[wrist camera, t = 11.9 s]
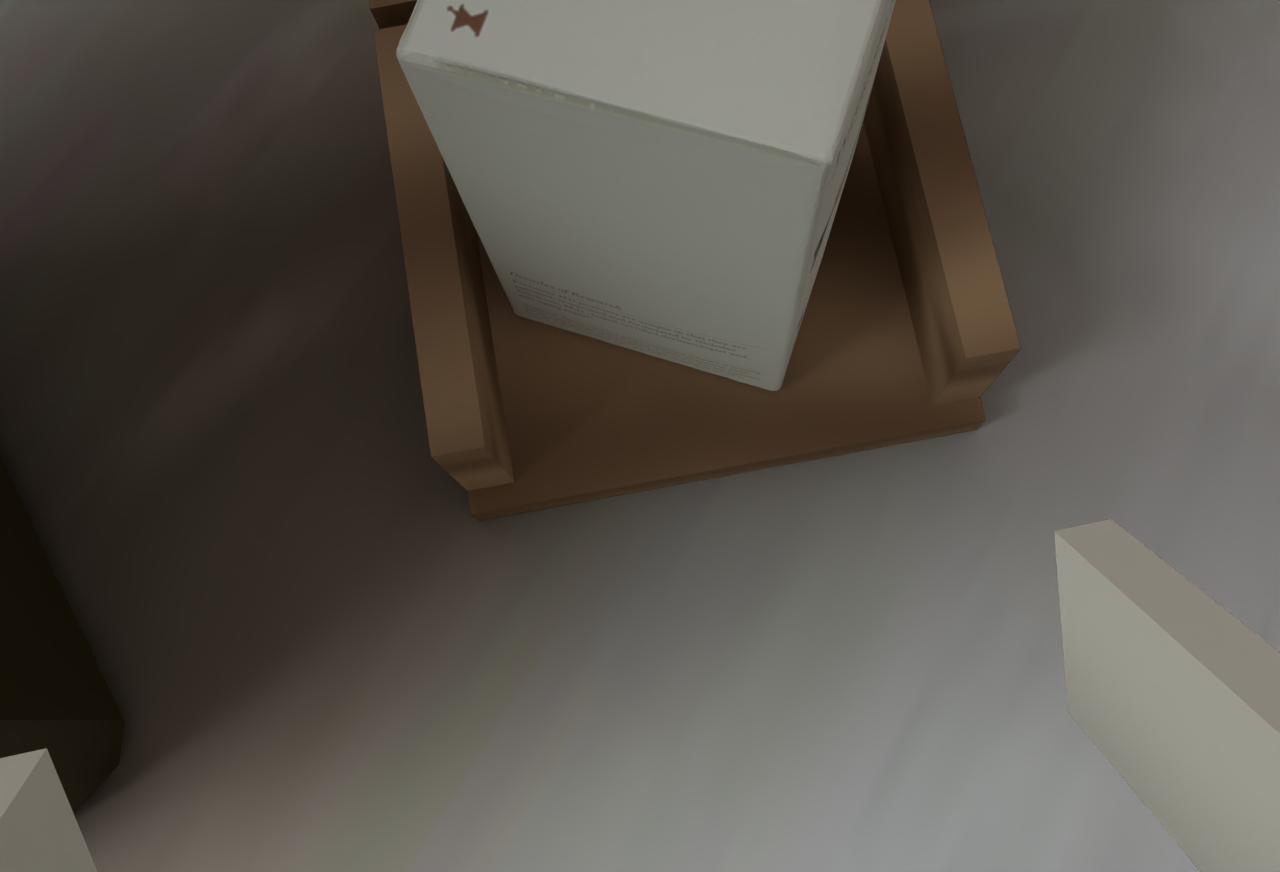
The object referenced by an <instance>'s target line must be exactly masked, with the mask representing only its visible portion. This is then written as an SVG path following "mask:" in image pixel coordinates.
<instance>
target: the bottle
mask: <svg viewBox="0 0 1280 872" xmlns="http://www.w3.org/2000/svg"><path fill="white" fill-rule="evenodd" d="M123 721H124V720H123V717H122V715H121V713H120V711H119V709H118V707H117V705H116V703H115V701H114V699H113V696H112V694H111V692H110V690H109V688H108V686H107V684H106V682H105V680H104V677H103V675H102V673H101V671H100V669H99V667H98V665H97V663H96V661H95V658H94V656H93V654H92V652H91V650H90V648H89V646H88V644H87V642H86V639H85V637H84V635H83V633H82V631H81V629H80V627H79V625H78V623H77V620H76V618H75V616H74V614H73V612H72V610H71V608H70V606H69V604H68V602H67V599H66V597H65V595H64V593H63V591H62V589H61V587H60V585H59V583H58V580H57V578H56V576H55V574H54V572H53V570H52V568H51V566H50V564H49V561H48V559H47V557H46V555H45V553H44V551H43V549H42V547H41V545H40V542H39V540H38V538H37V536H36V534H35V532H34V530H33V528H32V526H31V523H30V521H29V519H28V517H27V515H26V513H25V511H24V509H23V507H22V504H21V502H20V500H19V498H18V496H17V494H16V492H15V490H14V488H13V486H12V483H11V481H10V479H9V477H8V475H7V473H6V471H5V469H4V467H3V464H2V462H1V460H0V758H4V757H8V756H13V755H18V754H22V753H27V752H32V751H36V750H41V749H46V748H47V750H48V752H49V755H50V757H51V760H52V762H53V765H54V767H55V769H56V772H57V774H58V777H59V779H60V782H61V784H62V787H63V789H64V791H65V794H66V796H67V799H68V801H69V804H70V806H71V809H72V811H73V812H74V811H75V810H76V809H77V808H78V807H79V806H80V805H81V804H82V803H83V802H84V801H85V800H86V799H87V798H88V797H89V795H90V794H91V793H92V792H93V791H94V790H95V789H96V788H97V787H98V786H99V785H100V784H101V783H102V782H103V781H104V780H105V778H106V777H107V776H108V775H109V774H110V773H111V772H112V771H113V770H114V769H115V768H116V767H117V766H118V765H119V756H120V748H121V739H122V730H123Z"/></svg>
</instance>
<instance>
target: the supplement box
mask: <svg viewBox="0 0 1280 872" xmlns="http://www.w3.org/2000/svg"><path fill="white" fill-rule="evenodd" d="M895 1H896V0H417V3H416V5H415V8H414V10H413V13H412V15H411V17H410V20H409V22H408V25H407V27H406V29H405V31H404V33H403V35H402V37H401V39H400V41H399V44H398V47H397V50H396V55H397V59H398V61H399V63H400V65H401V68H402V70H403V72H404V74H405V76H406V79H407V81H408V83H409V85H410V87H411V90H412V92H413V94H414V96H415V98H416V100H417V103H418V105H419V107H420V109H421V111H422V113H423V116H424V118H425V120H426V122H427V124H428V127H429V129H430V131H431V133H432V135H433V137H434V139H435V141H436V144H437V146H438V148H439V151H440V153H441V155H442V157H443V159H444V161H445V163H446V166H447V168H448V170H449V172H450V174H451V176H452V178H453V181H454V183H455V185H456V187H457V190H458V192H459V194H460V196H461V198H462V201H463V203H464V205H465V207H466V209H467V211H468V214H469V216H470V218H471V220H472V223H473V225H474V227H475V229H476V231H477V233H478V235H479V237H480V239H481V241H482V244H483V246H484V248H485V250H486V252H487V255H488V257H489V259H490V261H491V263H492V266H493V268H494V270H495V272H496V274H497V276H498V279H499V281H500V283H501V285H502V287H503V290H504V292H505V294H506V296H507V298H508V300H509V303H510V305H511V307H512V309H513V312H514V313H515V315H518V316H521V317H524V318H527V319H530V320H534V321H537V322H540V323H544V324H547V325H550V326H553V327H556V328H560V329H563V330H567V331H570V332H574V333H577V334H581V335H584V336H587V337H591V338H595V339H598V340H601V341H604V342H607V343H610V344H613V345H617V346H620V347H624V348H627V349H631V350H635V351H638V352H641V353H644V354H647V355H651V356H654V357H657V358H661V359H664V360H668V361H671V362H674V363H678V364H682V365H685V366H688V367H691V368H695V369H698V370H701V371H705V372H708V373H712V374H715V375H719V376H723V377H727V378H729V379H732V380H735V381H738V382H742V383H746V384H749V385H753V386H757V387H760V388H763V389H766V390H770V391H777V390H779V389H780V388H781V386H782V383H783V380H784V376H785V373H786V370H787V366H788V363H789V360H790V357H791V354H792V350H793V347H794V344H795V341H796V338H797V335H798V332H799V329H800V325H801V322H802V319H803V316H804V313H805V310H806V307H807V304H808V301H809V297H810V294H811V291H812V288H813V285H814V282H815V279H816V276H817V273H818V269H819V266H820V263H821V260H822V257H823V254H824V251H825V247H826V244H827V241H828V237H829V234H830V231H831V228H832V224H833V221H834V218H835V214H836V211H837V208H838V205H839V201H840V198H841V195H842V191H843V188H844V185H845V182H846V178H847V175H848V172H849V168H850V165H851V162H852V159H853V155H854V152H855V148H856V144H857V141H858V137H859V134H860V130H861V126H862V123H863V119H864V115H865V112H866V108H867V104H868V101H869V97H870V94H871V90H872V86H873V83H874V79H875V75H876V72H877V68H878V64H879V61H880V57H881V54H882V50H883V46H884V43H885V39H886V35H887V31H888V27H889V24H890V20H891V16H892V12H893V8H894V5H895Z"/></svg>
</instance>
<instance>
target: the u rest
mask: <svg viewBox="0 0 1280 872" xmlns="http://www.w3.org/2000/svg"><path fill="white" fill-rule="evenodd" d="M416 3H417V0H369V4H370V10H371V12H372V14H373V16H374V18H375V20H376V22H377V24H378V26H379V29H380V30H374V31H373V34H374V41H375V49H376V56H377V63H378V71H379V78H380V85H381V93H382V100H383V108H384V115H385V122H386V130H387V137H388V144H389V152H390V159H391V166H392V174H393V181H394V189H395V196H396V203H397V211H398V218H399V225H400V233H401V240H402V247H403V255H404V262H405V270H406V277H407V284H408V292H409V299H410V306H411V314H412V321H413V328H414V336H415V343H416V351H417V358H418V365H419V373H420V380H421V387H422V395H423V402H424V409H425V417H426V424H427V432H428V439H429V446H430V454H431V457H432V458H433V459H434V460H435V461H436V462H437V463H438V464H439V465H440V466H441V467H442V468H443V469H444V470H445V471H447V472H448V473H449V474H450V475H451V476H452V477H453V478H454V479H455V480H456V481H457V482H458V483H459V484H460V485H461V486H463V487H464V488H465V489H466V490H467V492H468V500H469V507H470V514H471V515H472V516H473V517H474V518H476V519H477V520H478V521H480V520H485V519H490V518H496V517H501V516H507V515H512V514H518V513H523V512H529V511H534V510H540V509H545V508H551V507H556V506H561V505H567V504H572V503H578V502H583V501H589V500H594V499H600V498H605V497H611V496H616V495H622V494H627V493H633V492H638V491H643V490H649V489H654V488H660V487H665V486H671V485H676V484H682V483H687V482H693V481H698V480H704V479H709V478H715V477H720V476H725V475H731V474H736V473H742V472H747V471H753V470H758V469H764V468H769V467H775V466H780V465H786V464H791V463H797V462H802V461H807V460H813V459H818V458H824V457H829V456H835V455H840V454H846V453H851V452H857V451H862V450H868V449H873V448H878V447H884V446H889V445H895V444H900V443H906V442H911V441H917V440H922V439H928V438H933V437H939V436H944V435H950V434H955V433H960V432H966V431H971V430H977V429H978V428H979V427H980V426H981V425H982V424H983V422H984V421H985V420H986V419H985V415H984V411H983V407H982V403H981V399H980V396H981V395H982V394H983V393H984V392H985V390H986V389H987V388H988V387H989V386H990V384H991V383H992V382H993V381H994V380H995V379H996V377H997V376H998V375H999V374H1000V373H1001V371H1002V370H1003V369H1004V368H1005V367H1006V365H1007V364H1008V363H1009V362H1010V361H1011V360H1012V358H1013V357H1014V356H1015V355H1016V354H1017V352H1018V351H1019V350H1020V349H1021V347H1020V343H1019V340H1018V336H1017V332H1016V328H1015V324H1014V321H1013V317H1012V313H1011V309H1010V305H1009V302H1008V298H1007V294H1006V290H1005V287H1004V283H1003V279H1002V275H1001V271H1000V268H999V264H998V260H997V256H996V252H995V249H994V245H993V241H992V237H991V234H990V230H989V226H988V222H987V218H986V215H985V211H984V207H983V203H982V199H981V196H980V192H979V188H978V184H977V181H976V177H975V173H974V169H973V165H972V162H971V158H970V154H969V150H968V146H967V143H966V139H965V135H964V131H963V127H962V124H961V120H960V116H959V112H958V109H957V105H956V101H955V97H954V93H953V90H952V86H951V82H950V78H949V74H948V71H947V67H946V63H945V59H944V56H943V52H942V48H941V44H940V40H939V37H938V33H937V29H936V25H935V21H934V18H933V14H932V10H931V6H930V3H929V0H896V1H895V5H894V8H893V12H892V16H891V20H890V24H889V27H888V31H887V35H886V39H885V43H884V46H883V50H882V54H881V57H880V61H879V64H878V68H877V72H876V75H875V79H874V83H873V86H872V90H871V94H870V97H869V101H868V104H867V108H866V112H865V115H864V119H863V123H862V126H861V130H860V134H859V137H858V141H857V144H856V148H855V152H854V155H853V159H852V162H851V165H850V168H849V172H848V175H847V178H846V182H845V185H844V188H843V191H842V195H841V198H840V201H839V205H838V208H837V211H836V214H835V218H834V221H833V224H832V228H831V231H830V234H829V237H828V241H827V244H826V247H825V251H824V254H823V257H822V260H821V263H820V266H819V269H818V273H817V276H816V279H815V282H814V285H813V288H812V291H811V294H810V297H809V301H808V304H807V307H806V310H805V313H804V316H803V319H802V322H801V325H800V329H799V332H798V335H797V338H796V341H795V344H794V347H793V350H792V354H791V357H790V360H789V363H788V366H787V370H786V373H785V376H784V380H783V383H782V386H781V388H780V389H779V390H777V391H770V390H766V389H763V388H760V387H757V386H753V385H749V384H746V383H742V382H738V381H735V380H732V379H729V378H727V377H723V376H719V375H715V374H712V373H708V372H705V371H701V370H698V369H695V368H691V367H688V366H685V365H682V364H678V363H674V362H671V361H668V360H664V359H661V358H657V357H654V356H651V355H647V354H644V353H641V352H638V351H635V350H631V349H627V348H624V347H620V346H617V345H613V344H610V343H607V342H604V341H601V340H598V339H595V338H591V337H587V336H584V335H581V334H577V333H574V332H570V331H567V330H563V329H560V328H556V327H553V326H550V325H547V324H544V323H540V322H537V321H534V320H530V319H527V318H524V317H521V316H518V315H515V313H514V312H513V309H512V307H511V305H510V303H509V300H508V298H507V296H506V294H505V292H504V290H503V287H502V285H501V283H500V281H499V279H498V276H497V274H496V272H495V270H494V268H493V266H492V263H491V261H490V259H489V257H488V255H487V252H486V250H485V248H484V246H483V244H482V241H481V239H480V237H479V235H478V233H477V231H476V229H475V227H474V225H473V223H472V220H471V218H470V216H469V214H468V211H467V209H466V207H465V205H464V203H463V201H462V198H461V196H460V194H459V192H458V190H457V187H456V185H455V183H454V181H453V178H452V176H451V174H450V172H449V170H448V168H447V166H446V163H445V161H444V159H443V157H442V155H441V153H440V151H439V148H438V146H437V144H436V141H435V139H434V137H433V135H432V133H431V131H430V129H429V127H428V124H427V122H426V120H425V118H424V116H423V113H422V111H421V109H420V107H419V105H418V103H417V100H416V98H415V96H414V94H413V92H412V90H411V87H410V85H409V83H408V81H407V79H406V76H405V74H404V72H403V70H402V68H401V65H400V63H399V61H398V59H397V55H396V50H397V47H398V44H399V41H400V39H401V37H402V35H403V33H404V31H405V29H406V27H407V25H408V22H409V20H410V17H411V15H412V13H413V10H414V8H415V5H416Z"/></svg>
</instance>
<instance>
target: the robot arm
mask: <svg viewBox="0 0 1280 872" xmlns="http://www.w3.org/2000/svg"><path fill="white" fill-rule="evenodd" d="M1054 535H1055V549H1056V562H1057V575H1058V588H1059V601H1060V614H1061V628H1062V641H1063V654H1064V667H1065V680H1066V693H1067V707H1068V713H1069V714H1070V715H1071V716H1072V718H1073V719H1074V720H1075V721H1076V722H1077V724H1078V725H1079V726H1080V727H1081V728H1082V730H1083V731H1084V732H1085V733H1086V734H1087V736H1088V737H1089V738H1090V739H1091V740H1092V742H1093V743H1094V744H1095V745H1096V746H1097V748H1098V749H1099V750H1100V751H1101V752H1102V754H1103V755H1104V756H1105V757H1106V758H1107V760H1108V761H1109V762H1110V763H1111V764H1112V766H1113V767H1114V768H1115V769H1116V770H1117V772H1118V773H1119V774H1120V775H1121V776H1122V778H1123V779H1124V780H1125V781H1126V782H1127V784H1128V785H1129V786H1130V787H1131V788H1132V790H1133V791H1134V792H1135V793H1136V794H1137V796H1138V797H1139V798H1140V799H1141V800H1142V802H1143V803H1144V804H1145V805H1146V806H1147V808H1148V809H1149V810H1150V811H1151V813H1152V814H1153V815H1154V816H1155V817H1156V819H1157V820H1158V821H1159V822H1160V823H1161V825H1162V826H1163V827H1164V828H1165V829H1166V831H1167V832H1168V833H1169V834H1170V835H1171V837H1172V838H1173V839H1174V840H1175V841H1176V843H1177V844H1178V845H1179V846H1180V847H1181V849H1182V850H1183V851H1184V852H1185V853H1186V855H1187V856H1188V857H1189V858H1190V859H1191V861H1192V862H1193V863H1194V864H1195V865H1196V867H1197V868H1198V869H1199V870H1200V871H1201V872H1280V653H1279V652H1278V651H1277V650H1276V649H1274V648H1273V647H1272V646H1271V645H1269V644H1268V643H1267V642H1266V641H1264V640H1263V639H1262V638H1260V637H1259V636H1258V635H1257V634H1255V633H1254V632H1253V631H1252V630H1250V629H1249V628H1248V627H1247V626H1245V625H1244V624H1243V623H1242V622H1240V621H1239V620H1238V619H1237V618H1235V617H1234V616H1233V615H1232V614H1230V613H1229V612H1228V611H1226V610H1225V609H1224V608H1223V607H1221V606H1220V605H1219V604H1218V603H1216V602H1215V601H1214V600H1213V599H1211V598H1210V597H1209V596H1208V595H1206V594H1205V593H1204V592H1203V591H1201V590H1200V589H1199V588H1197V587H1196V586H1195V585H1194V584H1192V583H1191V582H1190V581H1189V580H1187V579H1186V578H1185V577H1184V576H1182V575H1181V574H1180V573H1179V572H1177V571H1176V570H1175V569H1174V568H1172V567H1171V566H1170V565H1168V564H1167V563H1166V562H1165V561H1163V560H1162V559H1161V558H1160V557H1158V556H1157V555H1156V554H1155V553H1153V552H1152V551H1151V550H1150V549H1148V548H1147V547H1146V546H1145V545H1143V544H1142V543H1141V542H1140V541H1138V540H1137V539H1136V538H1134V537H1133V536H1132V535H1131V534H1129V533H1128V532H1127V531H1126V530H1124V529H1123V528H1122V527H1121V526H1119V525H1118V524H1117V523H1116V522H1114V521H1113V520H1112V519H1108V520H1103V521H1099V522H1094V523H1089V524H1085V525H1080V526H1075V527H1071V528H1066V529H1062V530H1057V531H1054ZM0 872H97V870H96V867H95V865H94V862H93V860H92V858H91V855H90V853H89V850H88V848H87V845H86V843H85V840H84V838H83V836H82V833H81V831H80V828H79V826H78V823H77V821H76V818H75V816H74V813H73V811H72V809H71V806H70V804H69V801H68V799H67V796H66V794H65V791H64V789H63V787H62V784H61V782H60V779H59V777H58V774H57V772H56V769H55V767H54V765H53V762H52V760H51V757H50V755H49V752H48V750H47V748H46V749H41V750H36V751H32V752H27V753H22V754H18V755H13V756H8V757H4V758H0Z"/></svg>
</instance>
